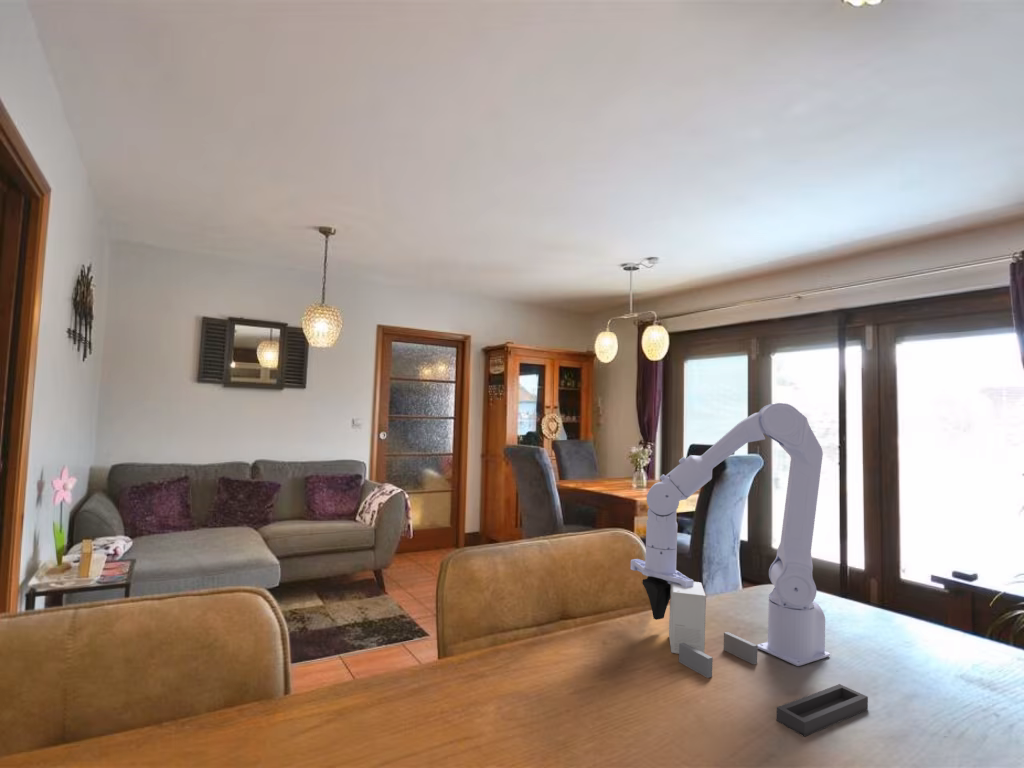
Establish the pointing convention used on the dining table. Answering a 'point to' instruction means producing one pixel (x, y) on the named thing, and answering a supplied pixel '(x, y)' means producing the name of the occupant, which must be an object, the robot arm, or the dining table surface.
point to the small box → (687, 616)
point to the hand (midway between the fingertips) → (658, 618)
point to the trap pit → (821, 709)
